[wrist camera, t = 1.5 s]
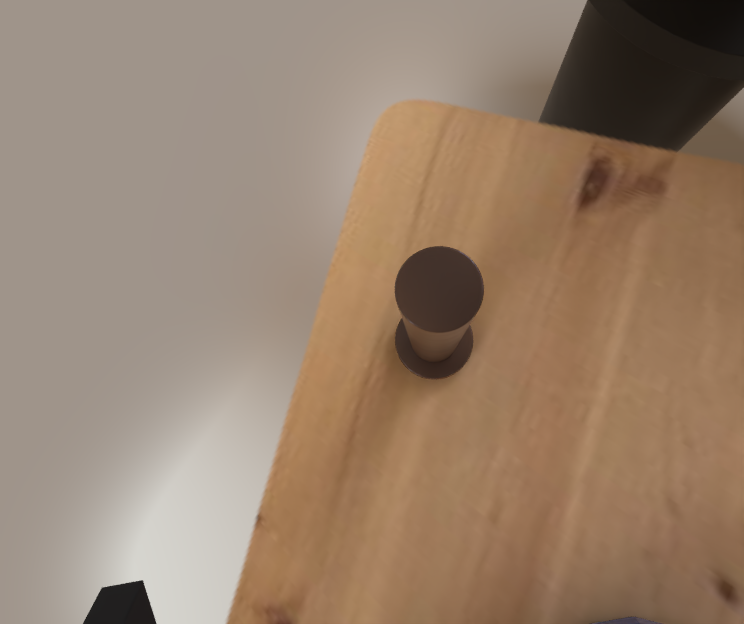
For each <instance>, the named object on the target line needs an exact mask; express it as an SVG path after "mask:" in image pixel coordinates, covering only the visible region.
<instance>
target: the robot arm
mask: <svg viewBox="0 0 744 624" xmlns="http://www.w3.org/2000/svg"><path fill="white" fill-rule="evenodd" d="M83 624H156V621H155V618H154V615H153V611H152V608H151V605H150V602H149V599H148V596H147V593H146V589H145V586H144V583H143V581H136V582H131V583H125V584H120V585H114V586H109V587H104V588H102V589H101V591H100V593H99V594H98V596H97V598H96V600H95V602H94V604H93V606H92V608H91V610H90V612H89V613H88V615H87V617H86V619H85V621H84V623H83Z"/></svg>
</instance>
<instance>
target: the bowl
mask: <svg viewBox="0 0 744 624" xmlns="http://www.w3.org/2000/svg"><path fill="white" fill-rule="evenodd" d="M591 624H662V623H658V622H654V621H650V620H646V619H642V618H637V617H628V618H622V619H616V620H609V621H603V622H597V623H591Z"/></svg>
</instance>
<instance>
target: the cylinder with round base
mask: <svg viewBox="0 0 744 624" xmlns="http://www.w3.org/2000/svg"><path fill="white" fill-rule="evenodd" d="M483 294H484V285H483V279H482V276H481V273H480V271H479V269H478V267H477V266H476V264H475V263H474V262H473V261H472V260H471V259H470V258H469V257H468V256H467V255H465V254H464V253H462V252H460V251H458V250H456V249H453V248H450V247H443V246H435V247H429V248H426V249H423V250H420V251H418V252H417V253H415V254H413V255H412V256H411V257H409V258H408V259H407V260H406V261H405V263H404V264H403V265H402V267H401V269H400V270H399V273H398V275H397V278H396V282H395V297H396V301H397V305H398V308H399V310H400V313H401V316H402V319H401V320H400V322H399V324H398V327H397V330H396V335H395V345H396V350H397V353H398V356H399V358H400V359H401V361H402V363H403V364H404V365H405V366H406V367H407V368H408V369H409V370H410V371H411V372H412V373H414V374H416V375H417V376H420V377H422V378H426V379H442V378H446V377H449V376H451V375H453V374H454V373H456V372H457V371H459V370H460V369H461V368H462V367H463V366H464V365H465V363H466V362H467V361H468V359H469V357H470V354H471V352H472V348H473V333H472V329H471V326H470V324H471V322H472V320H473V319H474V317H475V315H476V314H477V312H478V310H479V308H480V306H481V303H482V300H483Z"/></svg>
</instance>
